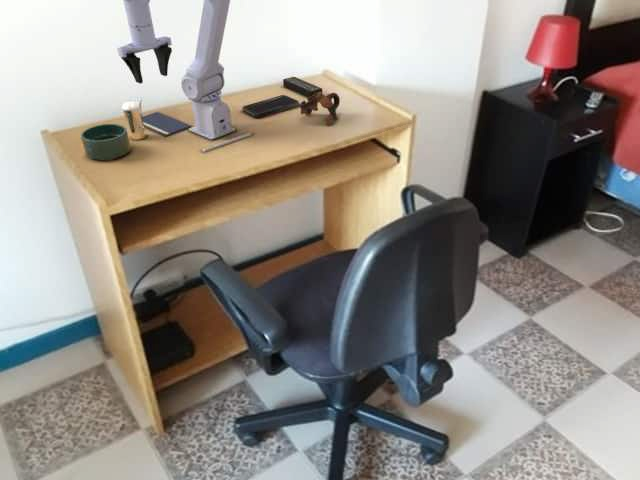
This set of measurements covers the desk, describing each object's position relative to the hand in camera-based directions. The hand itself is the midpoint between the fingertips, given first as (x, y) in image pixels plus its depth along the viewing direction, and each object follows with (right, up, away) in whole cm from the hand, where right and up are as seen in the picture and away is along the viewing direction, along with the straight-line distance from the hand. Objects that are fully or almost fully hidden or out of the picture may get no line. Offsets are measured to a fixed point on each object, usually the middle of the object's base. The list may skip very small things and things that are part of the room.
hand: (151, 78), depth 153 cm
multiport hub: (+38, +4, +23) cm, 44 cm away
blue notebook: (+2, -12, +2) cm, 12 cm away
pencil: (+22, -19, -7) cm, 30 cm away
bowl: (-6, -22, -12) cm, 26 cm away
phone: (+30, -5, +12) cm, 32 cm away
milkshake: (-1, -17, -5) cm, 18 cm away
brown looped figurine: (+45, -9, +6) cm, 46 cm away
